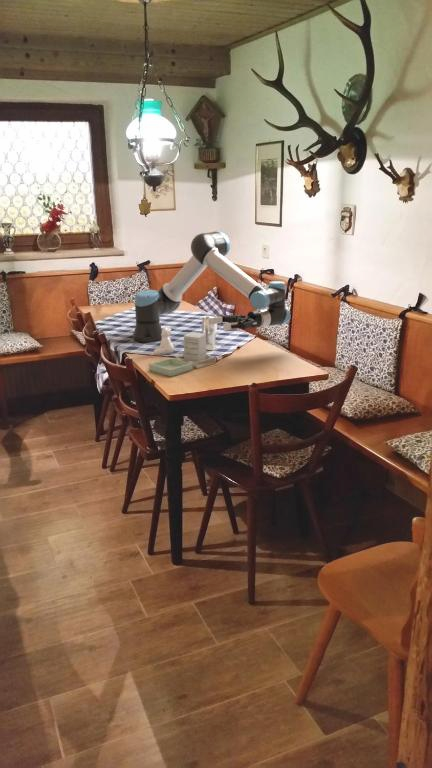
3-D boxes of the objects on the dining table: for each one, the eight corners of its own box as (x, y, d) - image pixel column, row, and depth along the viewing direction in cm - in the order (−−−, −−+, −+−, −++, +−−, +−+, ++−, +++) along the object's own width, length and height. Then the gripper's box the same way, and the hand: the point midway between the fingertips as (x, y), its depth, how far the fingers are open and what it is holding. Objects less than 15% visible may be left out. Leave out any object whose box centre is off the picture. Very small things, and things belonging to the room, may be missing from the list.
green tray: (149, 370, 247) (149, 363, 246) (171, 364, 256) (171, 357, 255) (170, 377, 239) (170, 370, 238) (192, 370, 248) (192, 363, 247)
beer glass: (215, 351, 275) (215, 319, 270) (200, 350, 276) (200, 318, 272) (218, 347, 282) (218, 316, 277) (204, 346, 283) (203, 315, 278)
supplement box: (191, 359, 262) (191, 331, 258) (206, 361, 259) (206, 333, 255) (183, 364, 256) (183, 335, 252) (199, 366, 253) (198, 337, 249)
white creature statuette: (160, 349, 279) (159, 324, 275) (177, 350, 277) (177, 325, 273) (152, 354, 270) (151, 328, 266) (170, 356, 268) (170, 330, 264)
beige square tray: (174, 363, 257) (174, 357, 256) (195, 357, 266) (194, 351, 265) (195, 369, 249) (195, 363, 248) (216, 362, 258) (216, 357, 257)
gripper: (273, 332, 256) (230, 338, 247) (244, 322, 277) (203, 327, 268) (273, 315, 254) (230, 321, 245) (244, 306, 275) (202, 310, 266)
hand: (216, 324), depth 256 cm, fingers open, 13 cm apart
